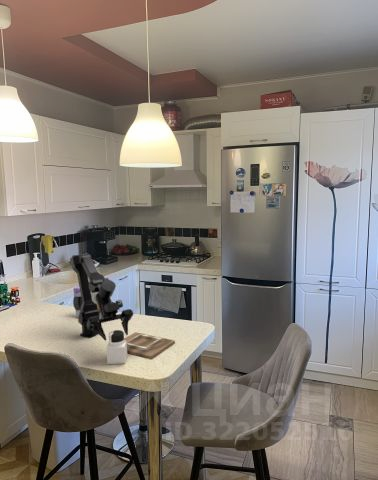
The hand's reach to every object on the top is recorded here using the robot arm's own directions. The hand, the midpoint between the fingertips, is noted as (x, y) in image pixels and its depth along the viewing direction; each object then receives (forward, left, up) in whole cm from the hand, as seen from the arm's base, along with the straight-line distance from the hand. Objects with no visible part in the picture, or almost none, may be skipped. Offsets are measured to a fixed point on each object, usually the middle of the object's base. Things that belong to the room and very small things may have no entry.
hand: (116, 337), depth 153 cm
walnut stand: (+1, +16, -10) cm, 19 cm away
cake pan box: (-46, +34, -10) cm, 58 cm away
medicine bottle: (0, 0, -10) cm, 10 cm away
